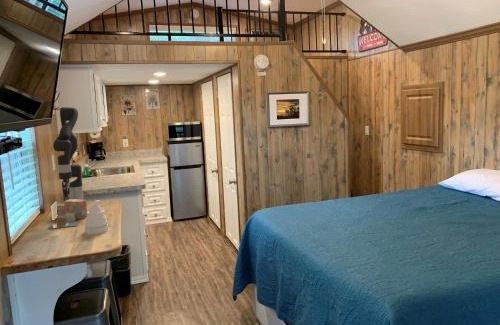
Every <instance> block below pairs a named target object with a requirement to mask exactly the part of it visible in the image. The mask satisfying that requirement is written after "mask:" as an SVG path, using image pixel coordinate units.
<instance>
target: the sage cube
mask: <svg viewBox="0 0 500 325" xmlns="http://www.w3.org/2000/svg"><path fill="white" fill-rule="evenodd" d="M66 219H67V222H74V221H76V219H75V212H73V213H66Z"/></svg>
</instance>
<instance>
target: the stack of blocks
mask: <svg viewBox="0 0 500 325" xmlns="http://www.w3.org/2000/svg"><path fill="white" fill-rule="evenodd" d="M56 204H57V215H58V216H66V213H73V212H75V220H83V219H86V217H87V215H88V214H87V212H88V211H87V199H84V200H82V199H70V198H69V199H66V200H64V201H63V203H61V202H60V203H57V202H56Z"/></svg>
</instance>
